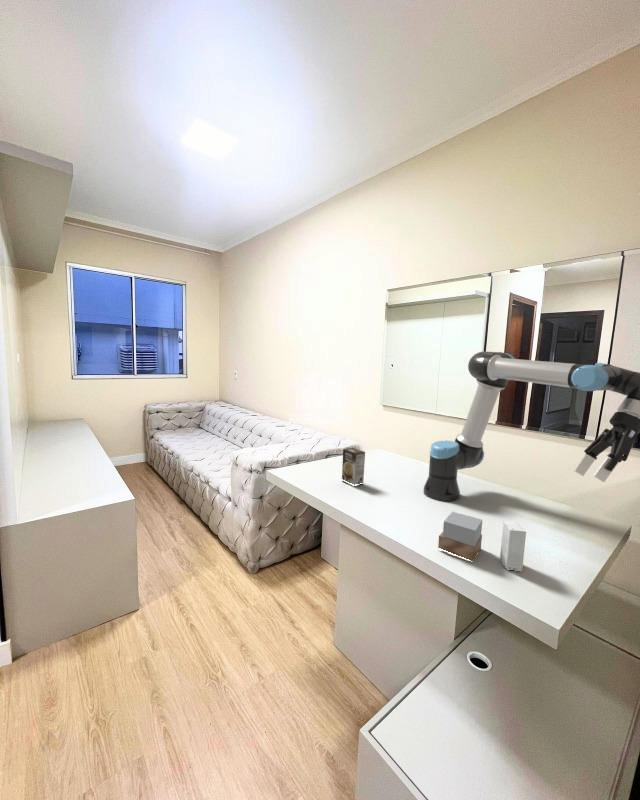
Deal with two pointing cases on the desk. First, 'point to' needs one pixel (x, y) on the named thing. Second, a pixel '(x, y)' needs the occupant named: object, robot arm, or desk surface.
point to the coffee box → (353, 465)
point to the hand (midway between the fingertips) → (587, 476)
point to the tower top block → (462, 528)
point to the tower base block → (459, 547)
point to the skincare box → (512, 546)
